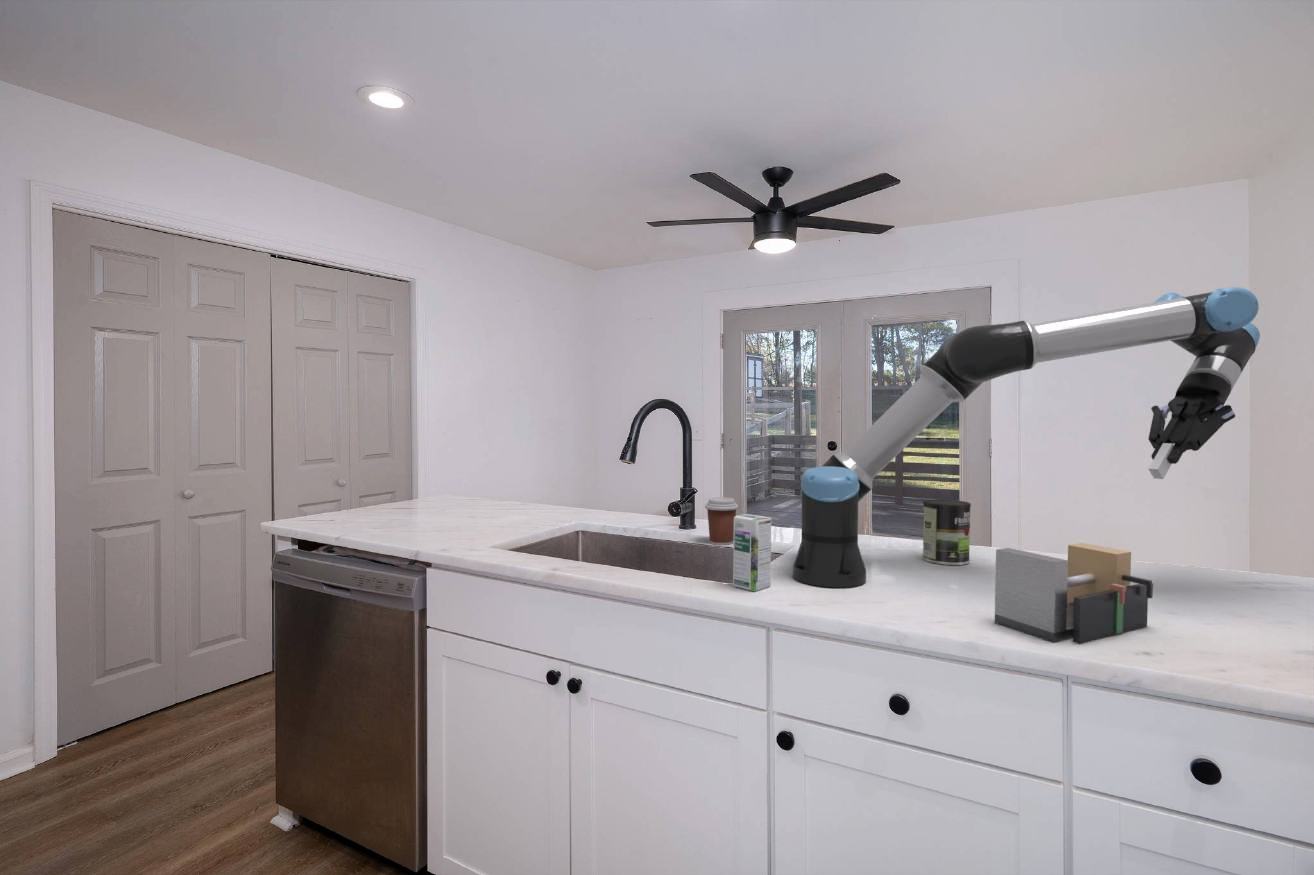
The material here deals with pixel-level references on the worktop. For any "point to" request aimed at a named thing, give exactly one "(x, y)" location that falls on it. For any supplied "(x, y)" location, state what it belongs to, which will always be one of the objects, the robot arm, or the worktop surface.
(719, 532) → the coffee cup
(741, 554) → the syrup box
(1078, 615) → the stand
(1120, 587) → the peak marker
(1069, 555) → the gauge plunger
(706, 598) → the worktop surface
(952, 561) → the coffee can
